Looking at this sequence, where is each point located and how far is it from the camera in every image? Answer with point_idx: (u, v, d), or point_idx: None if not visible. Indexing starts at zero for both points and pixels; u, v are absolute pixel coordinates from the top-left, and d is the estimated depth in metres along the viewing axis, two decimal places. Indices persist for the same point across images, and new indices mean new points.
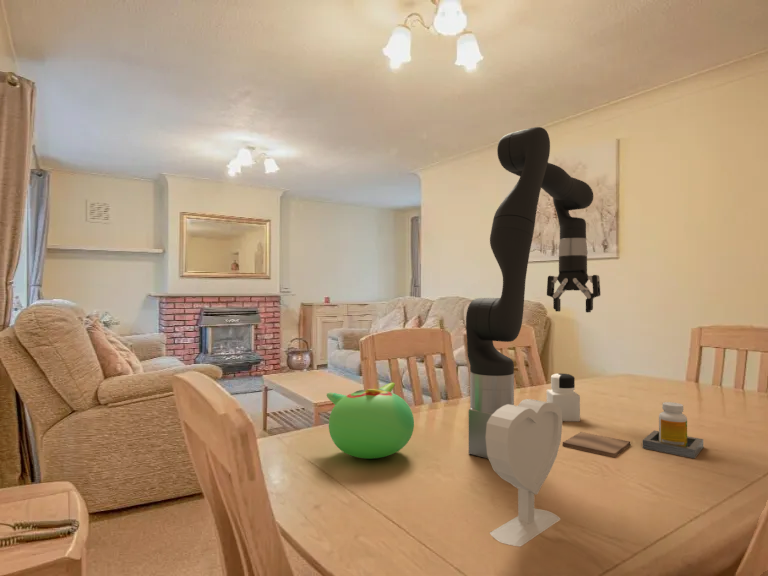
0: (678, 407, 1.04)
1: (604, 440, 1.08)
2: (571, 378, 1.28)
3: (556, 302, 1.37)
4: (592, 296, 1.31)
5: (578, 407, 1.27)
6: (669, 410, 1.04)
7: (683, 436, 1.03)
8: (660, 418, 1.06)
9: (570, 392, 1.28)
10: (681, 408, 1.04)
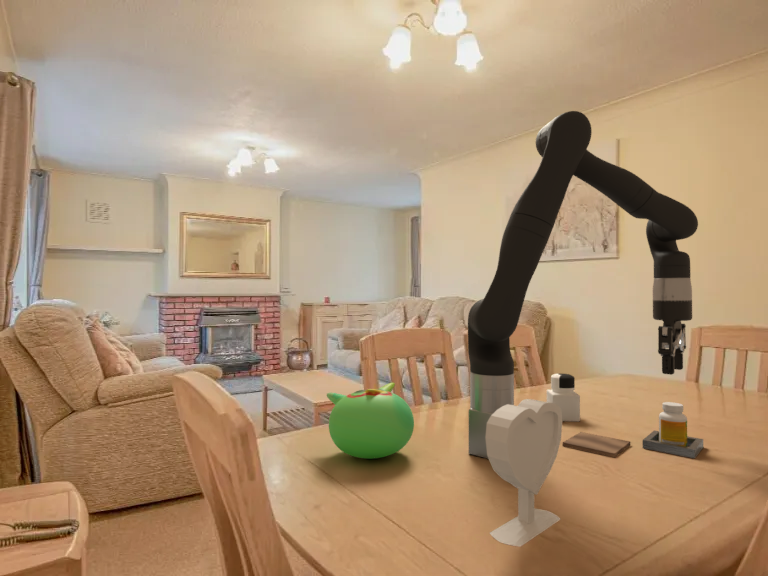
0: (678, 407, 1.04)
1: (604, 440, 1.08)
2: (571, 378, 1.28)
3: (673, 362, 1.02)
4: None
5: (578, 407, 1.27)
6: (669, 410, 1.04)
7: (683, 436, 1.03)
8: (660, 418, 1.06)
9: (570, 392, 1.28)
10: (681, 408, 1.04)
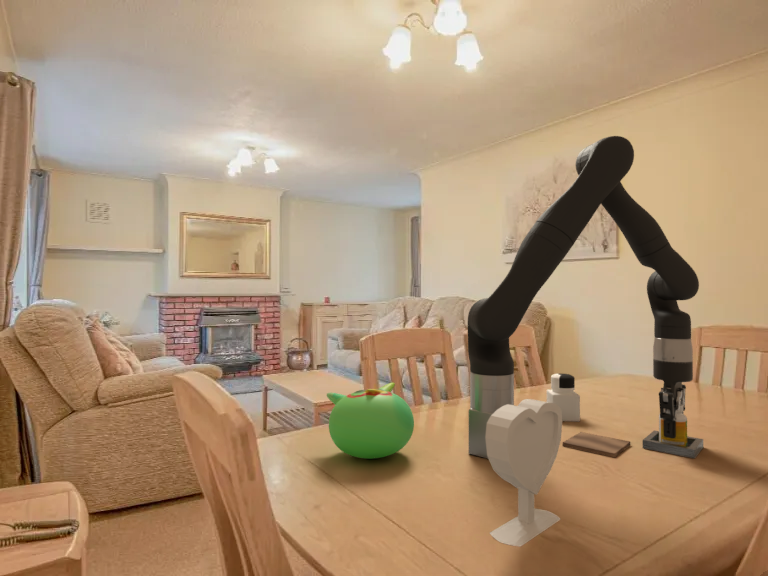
0: None
1: (604, 440, 1.08)
2: (571, 378, 1.28)
3: (675, 426, 1.03)
4: None
5: (578, 407, 1.27)
6: (669, 410, 1.04)
7: (683, 436, 1.03)
8: (660, 418, 1.06)
9: (570, 392, 1.28)
10: (681, 408, 1.04)
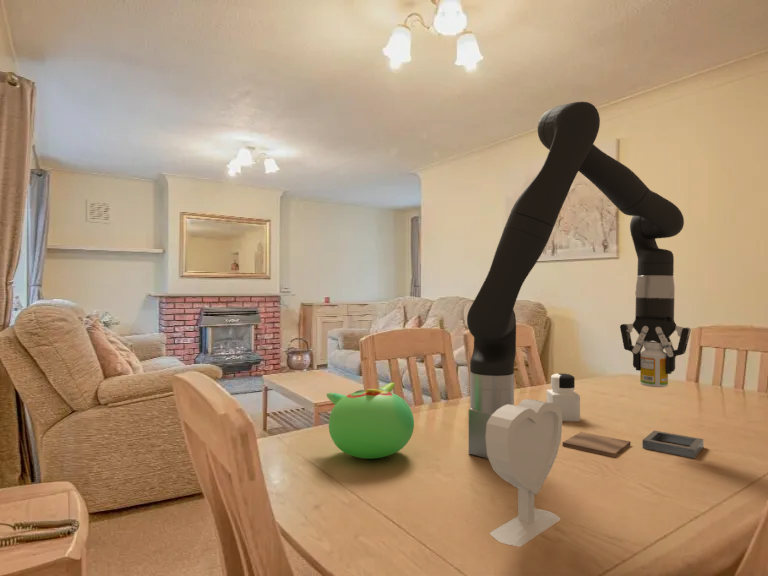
0: None
1: (604, 440, 1.08)
2: (571, 378, 1.28)
3: None
4: None
5: (578, 407, 1.27)
6: (663, 348, 1.05)
7: None
8: (659, 358, 1.04)
9: (570, 392, 1.28)
10: None
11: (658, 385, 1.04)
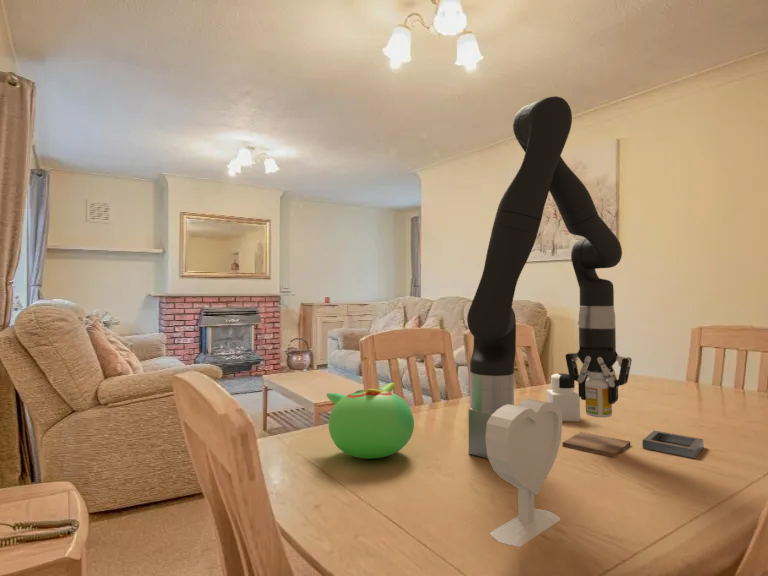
0: None
1: (604, 440, 1.08)
2: None
3: None
4: None
5: (578, 407, 1.27)
6: None
7: None
8: (601, 388, 1.04)
9: (570, 392, 1.28)
10: None
11: (601, 415, 1.04)
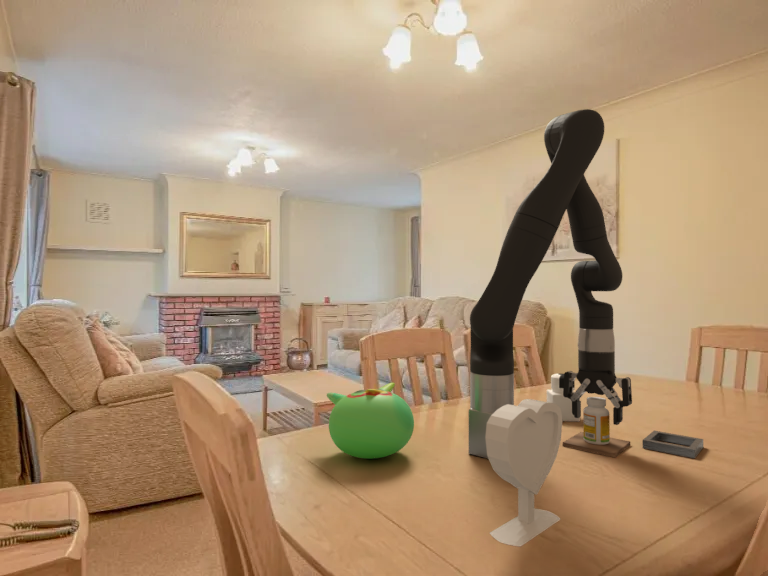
0: None
1: None
2: None
3: None
4: None
5: None
6: (604, 405, 1.06)
7: None
8: (599, 416, 1.05)
9: None
10: None
11: (599, 443, 1.04)
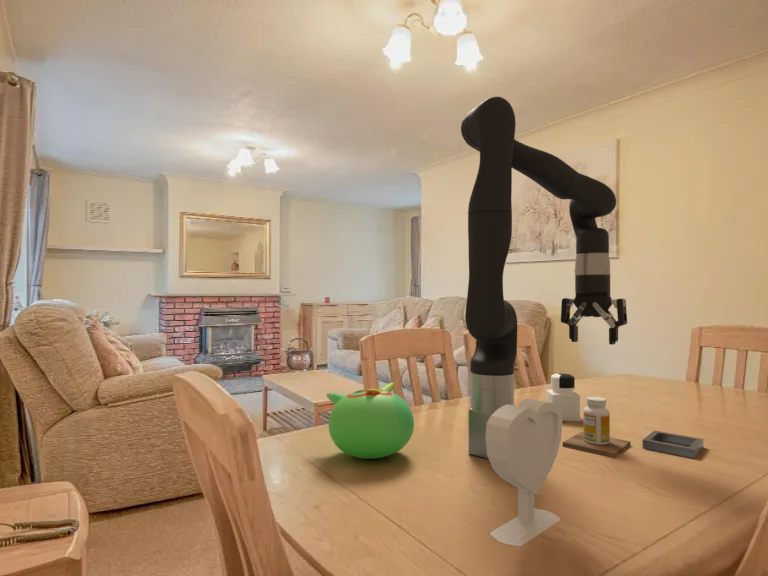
0: None
1: None
2: (571, 378, 1.28)
3: None
4: None
5: (578, 407, 1.27)
6: (604, 405, 1.06)
7: None
8: (599, 416, 1.05)
9: (570, 392, 1.28)
10: None
11: (599, 443, 1.04)
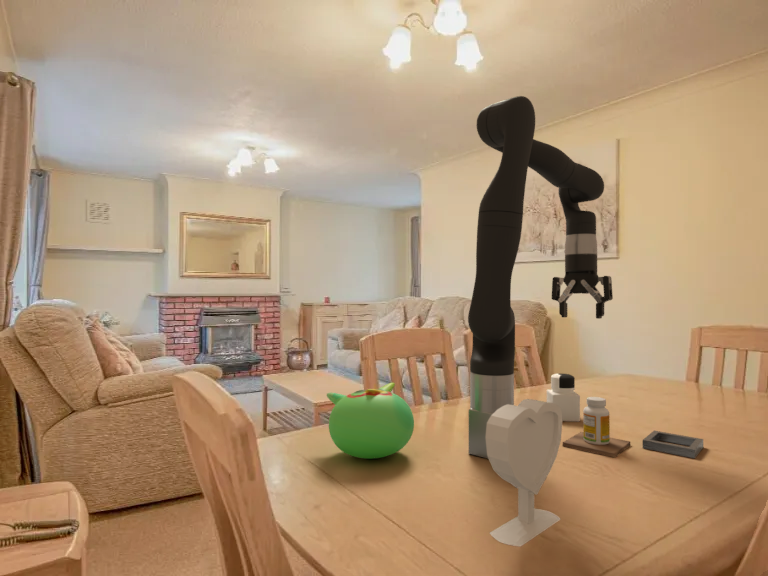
0: None
1: None
2: (571, 378, 1.28)
3: None
4: None
5: (578, 407, 1.27)
6: (604, 405, 1.06)
7: None
8: (599, 416, 1.05)
9: (570, 392, 1.28)
10: None
11: (599, 443, 1.04)
